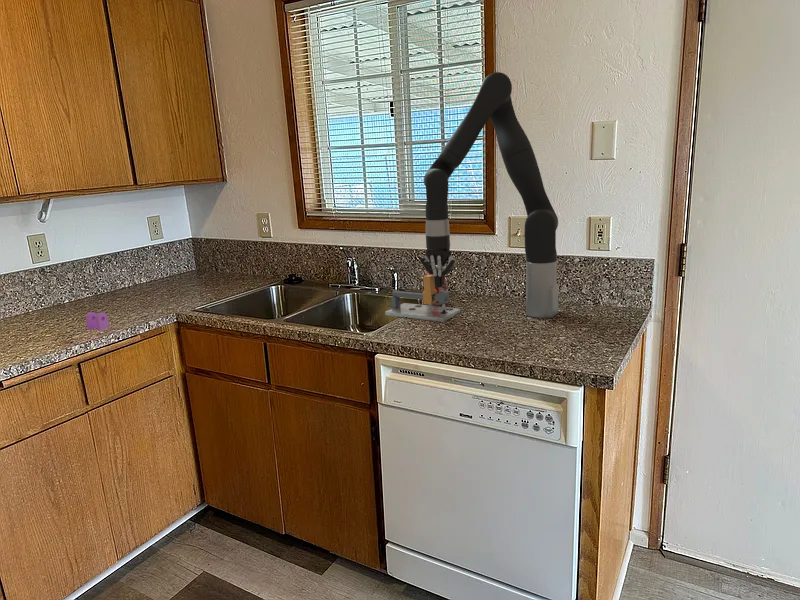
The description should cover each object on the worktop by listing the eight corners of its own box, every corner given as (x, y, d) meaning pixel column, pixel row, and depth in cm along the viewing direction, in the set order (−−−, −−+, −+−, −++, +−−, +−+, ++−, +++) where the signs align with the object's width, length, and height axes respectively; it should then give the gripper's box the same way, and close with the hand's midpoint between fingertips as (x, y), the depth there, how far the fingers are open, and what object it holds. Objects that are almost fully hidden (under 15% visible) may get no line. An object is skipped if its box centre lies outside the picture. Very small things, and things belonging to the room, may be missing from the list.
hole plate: (460, 312, 187) (460, 308, 186) (443, 321, 177) (443, 318, 177) (404, 306, 198) (404, 302, 198) (385, 315, 189) (385, 311, 188)
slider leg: (437, 308, 187) (435, 274, 184) (431, 311, 183) (430, 277, 180) (429, 307, 188) (427, 274, 185) (423, 311, 185) (421, 276, 182)
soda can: (439, 307, 194) (437, 270, 191) (422, 305, 199) (420, 269, 195) (450, 302, 200) (448, 266, 197) (433, 300, 204) (431, 265, 201)
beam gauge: (449, 311, 184) (448, 291, 182) (444, 314, 181) (443, 293, 180) (396, 305, 195) (395, 286, 193) (391, 308, 192) (390, 289, 190)
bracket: (97, 330, 191) (93, 311, 189) (110, 331, 189) (106, 311, 187) (64, 343, 179) (59, 322, 177) (77, 344, 177) (72, 322, 175)
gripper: (461, 232, 177) (463, 286, 181) (425, 231, 184) (427, 283, 188) (451, 235, 171) (452, 291, 175) (413, 234, 178) (416, 288, 182)
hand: (439, 287), depth 182 cm, fingers closed
